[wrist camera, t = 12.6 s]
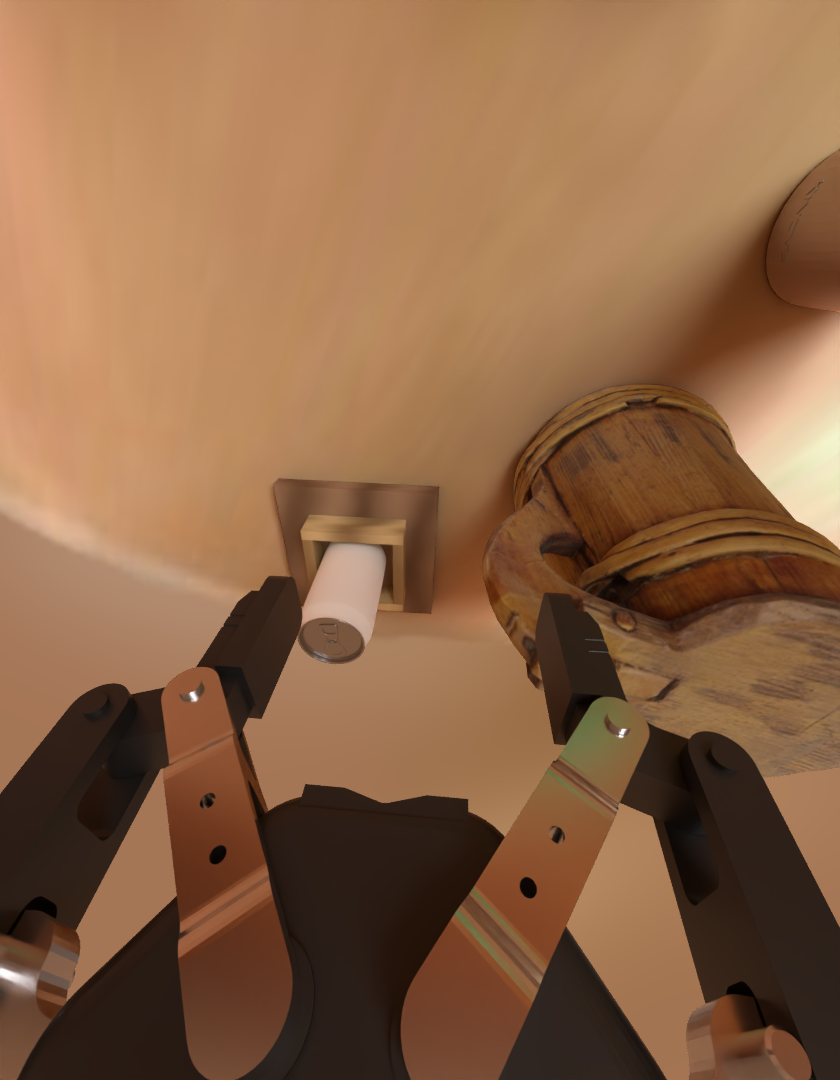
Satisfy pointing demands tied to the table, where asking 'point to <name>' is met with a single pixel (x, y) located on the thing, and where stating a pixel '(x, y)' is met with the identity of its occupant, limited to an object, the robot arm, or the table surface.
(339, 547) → the can
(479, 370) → the table surface
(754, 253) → the table surface
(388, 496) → the socket stand
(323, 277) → the table surface
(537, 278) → the table surface
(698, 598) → the tankard
